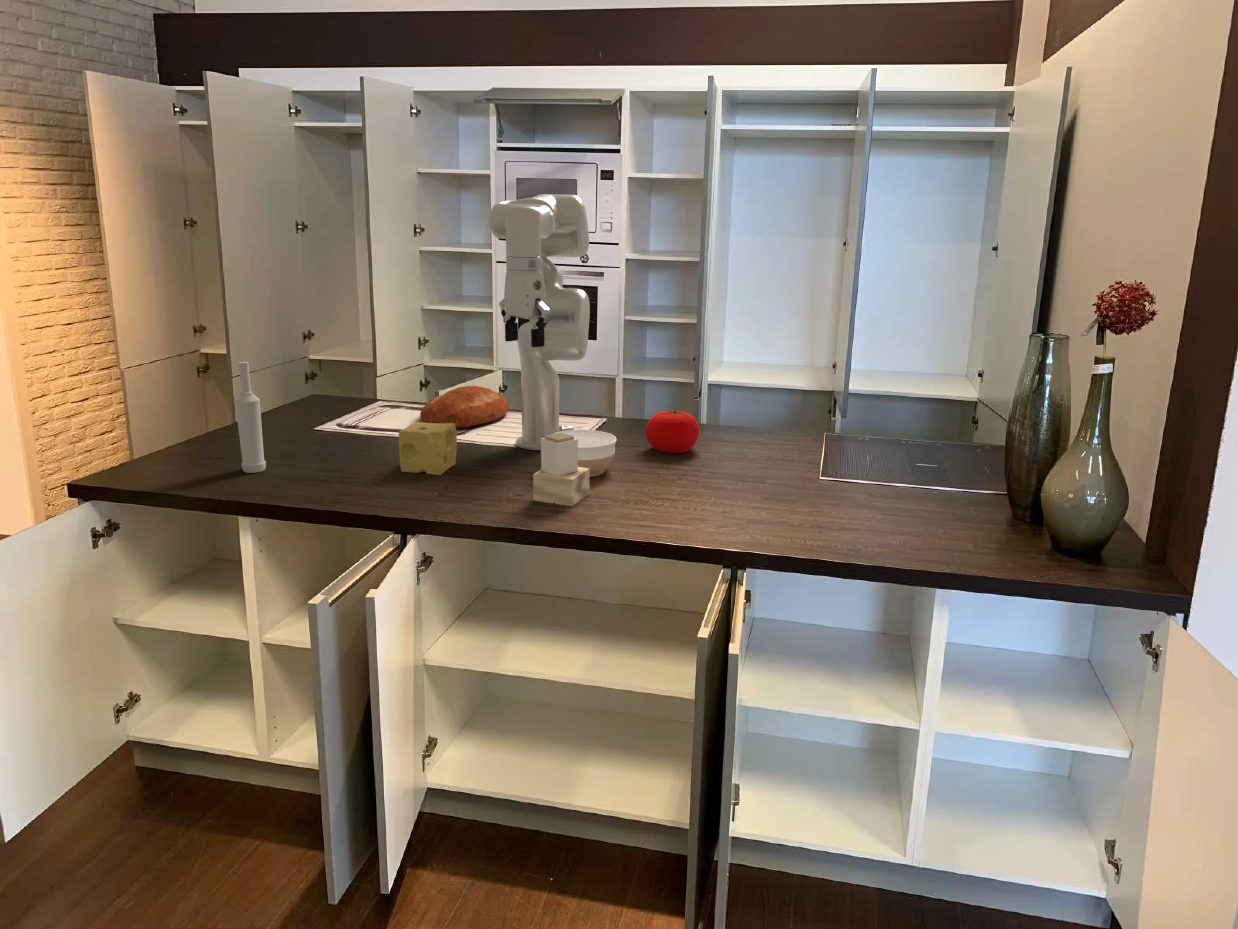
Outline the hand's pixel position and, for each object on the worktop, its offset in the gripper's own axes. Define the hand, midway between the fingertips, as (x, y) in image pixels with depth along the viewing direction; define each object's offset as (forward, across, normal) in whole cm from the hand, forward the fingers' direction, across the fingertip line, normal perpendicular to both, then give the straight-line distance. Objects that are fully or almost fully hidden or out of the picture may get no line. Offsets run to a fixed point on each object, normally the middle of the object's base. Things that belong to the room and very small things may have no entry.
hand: (524, 343), depth 200 cm
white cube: (+24, -18, +4) cm, 30 cm away
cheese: (+31, +18, +15) cm, 39 cm away
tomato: (+31, -7, -41) cm, 52 cm away
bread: (+31, +54, -19) cm, 65 cm away
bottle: (+30, +41, +47) cm, 69 cm away
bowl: (+31, -6, -12) cm, 33 cm away
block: (+30, -18, +4) cm, 36 cm away
